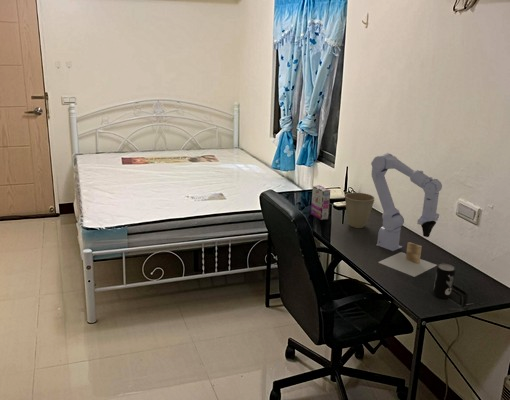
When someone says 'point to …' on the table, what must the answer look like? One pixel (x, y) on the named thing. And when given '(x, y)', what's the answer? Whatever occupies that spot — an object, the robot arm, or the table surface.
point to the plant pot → (358, 208)
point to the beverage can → (444, 281)
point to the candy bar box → (320, 202)
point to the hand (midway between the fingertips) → (426, 236)
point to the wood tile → (413, 252)
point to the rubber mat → (407, 264)
